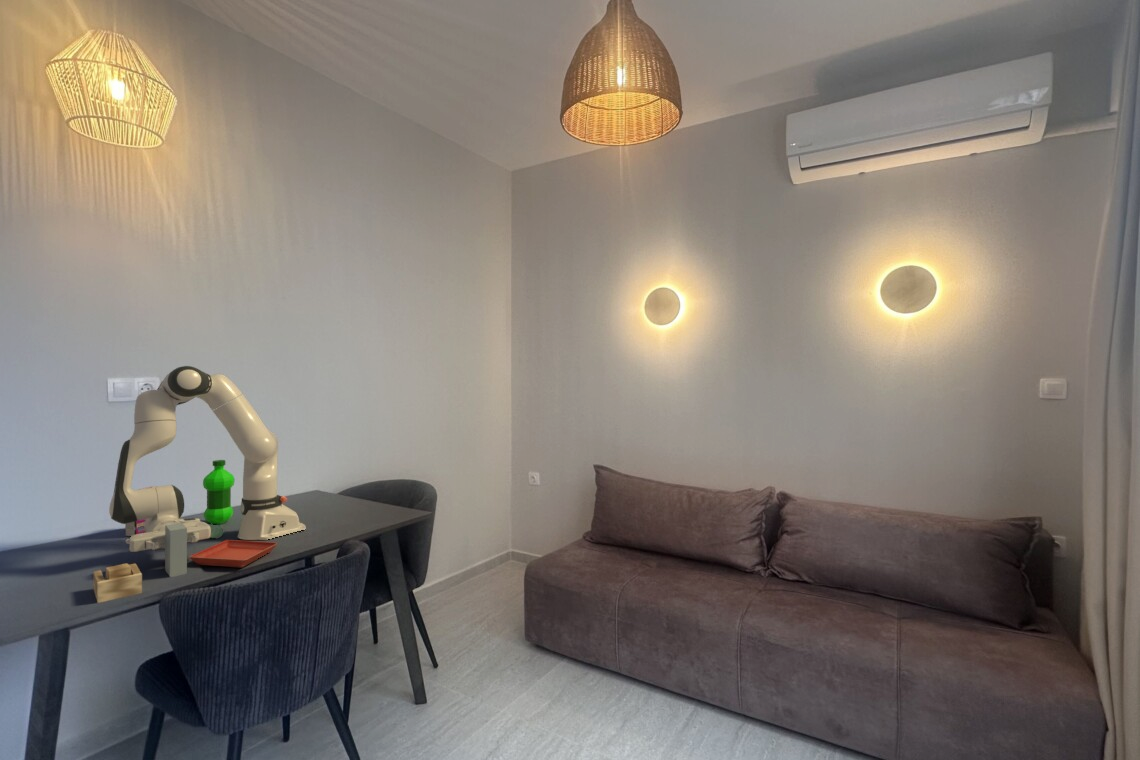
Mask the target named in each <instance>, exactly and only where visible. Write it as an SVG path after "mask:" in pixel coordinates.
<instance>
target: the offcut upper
mask: <svg viewBox="0 0 1140 760" xmlns="http://www.w3.org/2000/svg"><path fill="white" fill-rule="evenodd" d="M129 575H131V566H130V564H129V563H122V564H116V565H114V566H108V567H105V578H106V580H109V579H114V578H119V577H124V576H129Z"/></svg>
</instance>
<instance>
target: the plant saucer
mask: <svg viewBox="0 0 1140 760" xmlns="http://www.w3.org/2000/svg"><path fill="white" fill-rule="evenodd" d="M277 545H278V542H272V541H271V542H268V541H257V540H237V539H235V540H234V539H225V540H223V541H222V542H219V543H217V544H214V545H212V546H209V547H207V548H205V549H203V550H200V551H198V552H196V553H194V554H191V555H189V556H188V558H189V559H190V560H192V562H193V563H195V564H196V565H199V566H214V567H216V566H217V567H229V568H244V567H245V566H247V565H249V564H251V563H253V562H255V561H256V560H259V559H261V558H263V557H264V555H265V556H267V555H268V554H270V553H271V552H272V550H273V549H274V548H276V546H277ZM267 553H268V554H267ZM262 556H263V557H262ZM260 557H261V558H260ZM258 558H259V559H258Z"/></svg>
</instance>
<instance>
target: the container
mask: <svg viewBox="0 0 1140 760" xmlns="http://www.w3.org/2000/svg"><path fill="white" fill-rule="evenodd" d="M207 524H208V525H209V526H210V528H211V536H210V538H216V539H219V538H222V536H223V534H224V528H223V527H221V526H220V524H217V525H213V524H211V523H210V524H209V523H207ZM210 538H209V539H210Z"/></svg>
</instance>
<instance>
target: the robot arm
mask: <svg viewBox="0 0 1140 760" xmlns="http://www.w3.org/2000/svg"><path fill="white" fill-rule="evenodd" d="M195 398H197V399H200V400H202V401H203V402H205V403H206V404H207V405H208V407H209V408H210V410H211V411H212V412H213V413H214V415H215V416H216V418H217V419H218V420H219V421H220V423H221V424H222V425H223V426H224V428H225V429H226V431H227V432H228V433H229V435H230V437H231V439H232V441H233V442H234V443H235V445H236V447H237V448H238V450H239V451H240V453H241V454H242V455H243V457H244V461H243V472H242V473H243V474H242V498H241V503H240V507H241V508H240V512H241V521H240V522H241V523H240V528H239V531H238V534H237V538H238V539H240V540H243V541H258V540H259V541H269V540H268V539H270V540H273V539H272V538H274V539H276V538H275V537H278V538H280V537H279V536H282V537H284V536H283V535H286V534H289V535H291V534H290V533H293V532H297V531H301V530H305V529H306V530H307V527H306V524H304V523H303V522H300V517H299V516H298V513H297V512H296V511H295V510H293V509H291V508H290V507H288V506H286V505H285V503H287V501H288V498H287V497H286V496H284V495H283V496H282V495H279V494H278V457H279V456H278V453H279V452H278V451H279V449H278V448H279V440H278V437H277V435H276V434H275V433H274V432H272V431H271V430H269V429H268V428H267V427H266V426H265V423H264V422H263V421H262V420H261V418H260V416H259V415H258V413H257V411H256V410H255V408H253V406H252V404H251V403H250V402H249V400H248V398H246V396H245V395H244V394H243V393H242V391H241V390H240V389H239V388H238V386H237V385H236V384H235V383H234V382H233V381H232V380H231V379H230V378H229V377H227V376H226V375H224V374H221V373H217V374H216V373H215V374H212V375H211V374H208V373H206V372H205V371H202V370H201V369H199V368H197V367H195V366H191V365H190V366H189V365H183V366H179V367H176V368H175V369H173V370H171V371H170V372H169V373H167V374H166V375H165V377H164V378H163V380H162V381H161V382H160V384H159V386H158V388H157V389H149V390H146V391H145V390H144V391H143V392H141V393H140V394H138V396H137V397H136V400H135V403H134V404H135V405H134V415H133V418H134V420H133V422H134V424H133V425H134V430H133V433H132V436H131V437H130V438H129V439H128V440H125V441H124V442H123V444H122V447H121V449H120V454H119V459H118V463H117V470H116V477H115V483H114V487H113V488H114V490H113V495H112V497H111V500H110V503H109V510H108V511H109V516H110V518H111V519H112V521H115V522H117V523H118V524H121V525H122V524H123V525H125V524H126V523H130V522H134V521H137V520H142V519H146V521H145V524H144V529H145V533H141V534H136V535H132V536H131V537H129V538H127V539H125V543H126V544H127V545H129V551H130V552H131V553H137V552H141V551H146V550H152V551H155V550H160V549H165V525H169V524H175V523H182V524H183V525H184V526H185V527H186V528H187V543H191V544H193V543H197V542H198V541H202V540H207V539H210V536H211V528H210V526H209V525H208V524H209V523H206V522H205V521H201V519H200V518H198V517H197V518H196V517H195V518H192V517H191V518H181V517H182V515H183V513H184V511H185V499H184V495H183V492H182V491H181V490H180V489H179V488H178V487H176V486H175V485H173V484H168V485H162V486H160V487H154V488H147V487H146V488H147V489H143V488H139V489H140V490H139V489H133V488H132V481H133V477H134V470H135V465H136V463H137V462H138V461H139V460H140V459H141V458H143V457H144V456H146V455H149V454H151V453H154V452H156V451H158V450H161V449H164V448H165V447H168V446H169V444H171V443H172V442H173V441H174V440H175V438H176V436H177V417H176V415H177V414H176V409H177V406H179V405H184V404H185V403H188V402H190V401H191V400H194V399H195ZM306 530H305V531H306ZM301 532H302V531H301ZM297 533H298V532H297ZM293 534H294V533H293ZM286 536H287V535H286Z"/></svg>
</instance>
